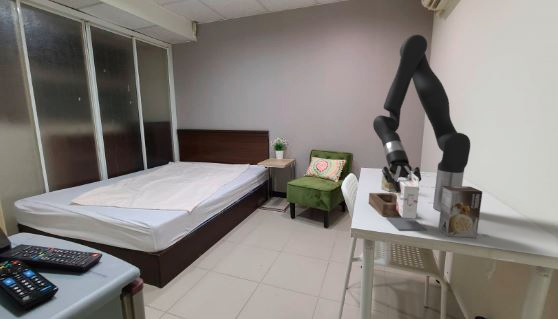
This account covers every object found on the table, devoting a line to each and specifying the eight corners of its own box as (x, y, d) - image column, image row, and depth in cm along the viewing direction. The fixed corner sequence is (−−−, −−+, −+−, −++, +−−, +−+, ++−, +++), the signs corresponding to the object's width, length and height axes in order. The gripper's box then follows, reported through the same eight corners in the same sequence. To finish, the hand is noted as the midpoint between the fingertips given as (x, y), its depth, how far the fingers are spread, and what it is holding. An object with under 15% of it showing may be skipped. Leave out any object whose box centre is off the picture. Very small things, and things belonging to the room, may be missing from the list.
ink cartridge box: (395, 209, 96) (398, 172, 94) (408, 209, 95) (412, 172, 93) (401, 217, 88) (405, 177, 85) (416, 218, 87) (420, 178, 84)
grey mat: (411, 218, 97) (411, 217, 97) (426, 230, 87) (427, 229, 87) (386, 218, 97) (386, 217, 97) (398, 230, 87) (398, 229, 87)
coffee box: (465, 229, 88) (471, 186, 85) (477, 238, 81) (484, 191, 79) (437, 228, 89) (442, 185, 86) (446, 236, 83) (452, 190, 80)
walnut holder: (392, 203, 114) (393, 193, 113) (409, 216, 99) (411, 204, 99) (368, 203, 114) (369, 193, 113) (382, 216, 99) (383, 204, 98)
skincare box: (380, 188, 138) (382, 167, 136) (387, 188, 139) (389, 166, 137) (389, 192, 132) (391, 169, 130) (395, 191, 133) (397, 169, 131)
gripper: (381, 148, 97) (392, 187, 87) (417, 149, 97) (432, 187, 87) (374, 159, 103) (384, 196, 93) (409, 160, 103) (422, 197, 93)
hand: (407, 192), depth 90 cm, fingers closed on ink cartridge box, 5 cm apart
